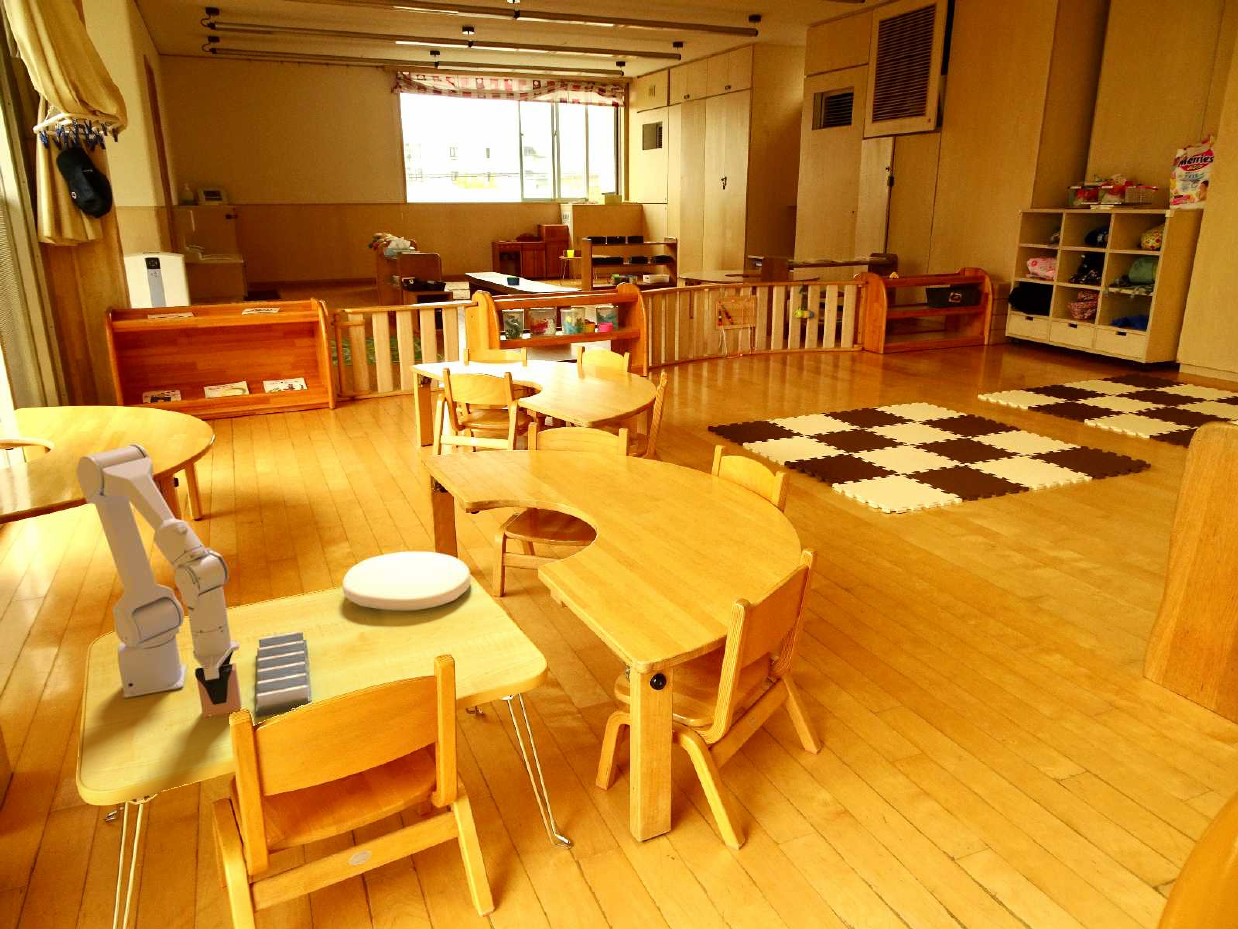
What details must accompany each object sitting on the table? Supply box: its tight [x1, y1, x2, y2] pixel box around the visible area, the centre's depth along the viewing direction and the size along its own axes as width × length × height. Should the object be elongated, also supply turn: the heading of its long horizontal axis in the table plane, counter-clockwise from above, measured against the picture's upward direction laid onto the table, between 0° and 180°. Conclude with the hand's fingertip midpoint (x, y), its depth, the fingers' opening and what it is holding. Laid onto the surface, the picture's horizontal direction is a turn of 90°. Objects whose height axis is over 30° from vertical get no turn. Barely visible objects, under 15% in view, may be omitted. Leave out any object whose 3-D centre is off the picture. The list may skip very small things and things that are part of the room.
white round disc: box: [342, 551, 472, 611], centre depth 191 cm, size 28×6×27 cm
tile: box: [196, 662, 243, 718], centre depth 146 cm, size 6×2×8 cm, turn 112°
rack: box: [255, 630, 313, 718], centre depth 156 cm, size 9×23×4 cm, turn 22°
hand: (220, 695), depth 146 cm, fingers open, 4 cm apart
